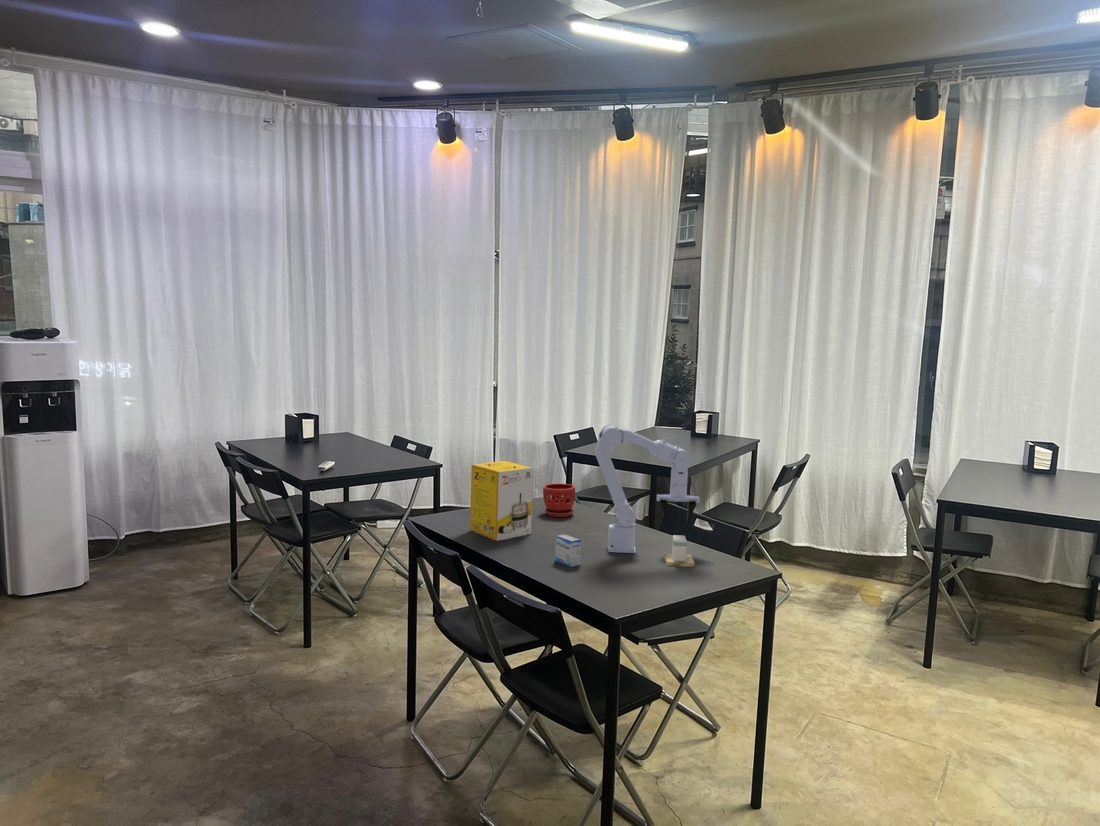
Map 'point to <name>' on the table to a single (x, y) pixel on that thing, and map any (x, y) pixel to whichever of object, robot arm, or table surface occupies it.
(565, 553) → the medicine box
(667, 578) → the table surface
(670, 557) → the oak block
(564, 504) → the plant pot
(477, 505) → the packaging box
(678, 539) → the carton block
